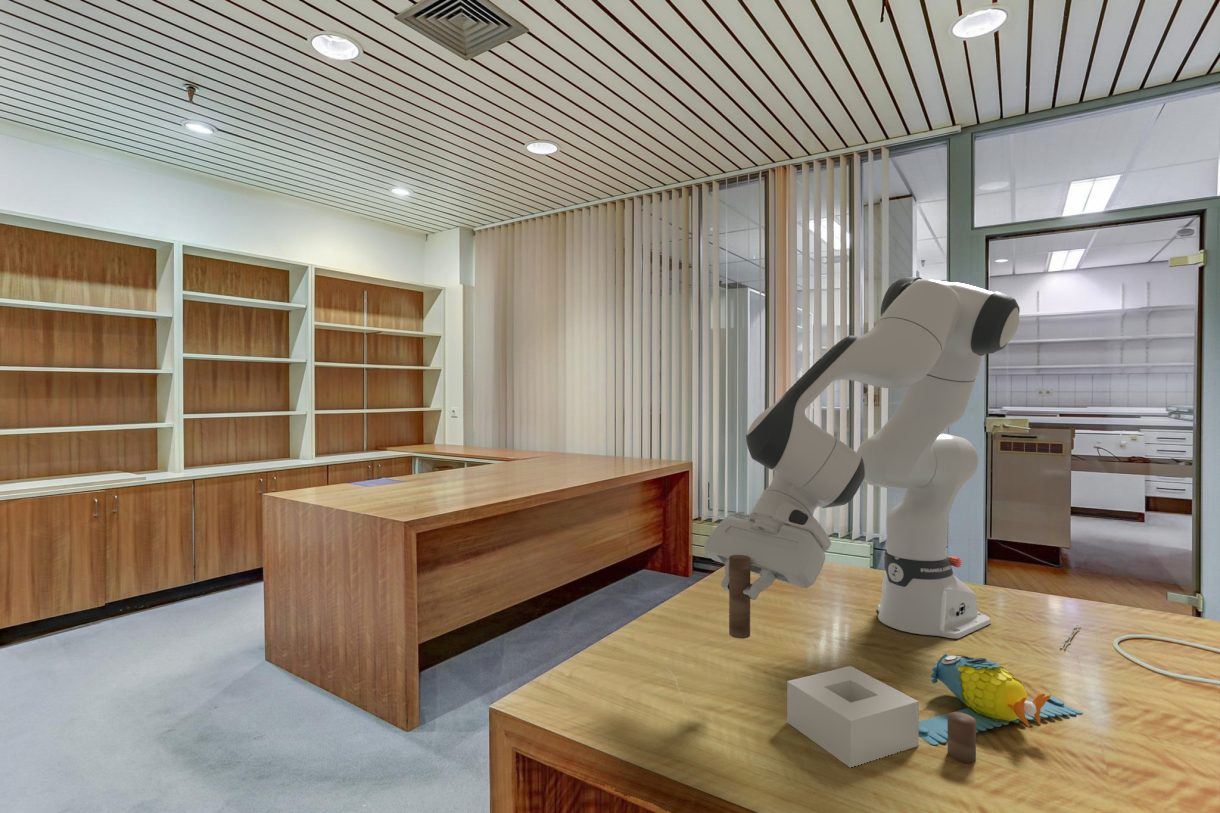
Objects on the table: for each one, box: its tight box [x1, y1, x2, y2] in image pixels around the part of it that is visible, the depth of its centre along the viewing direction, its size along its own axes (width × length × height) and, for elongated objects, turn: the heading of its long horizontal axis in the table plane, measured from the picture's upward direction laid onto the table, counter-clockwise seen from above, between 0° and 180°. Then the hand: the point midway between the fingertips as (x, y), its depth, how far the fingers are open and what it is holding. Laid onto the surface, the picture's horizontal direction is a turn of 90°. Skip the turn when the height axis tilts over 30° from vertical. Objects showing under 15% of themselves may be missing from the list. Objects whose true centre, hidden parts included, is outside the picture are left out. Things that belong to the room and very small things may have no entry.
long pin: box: [728, 555, 751, 640], centre depth 96 cm, size 3×3×12 cm
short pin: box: [947, 711, 977, 765], centre depth 80 cm, size 3×3×5 cm
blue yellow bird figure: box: [919, 653, 1083, 746], centre depth 91 cm, size 28×9×15 cm
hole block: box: [786, 665, 920, 769], centre depth 86 cm, size 12×12×6 cm
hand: (737, 592), depth 95 cm, fingers closed on long pin, 3 cm apart
